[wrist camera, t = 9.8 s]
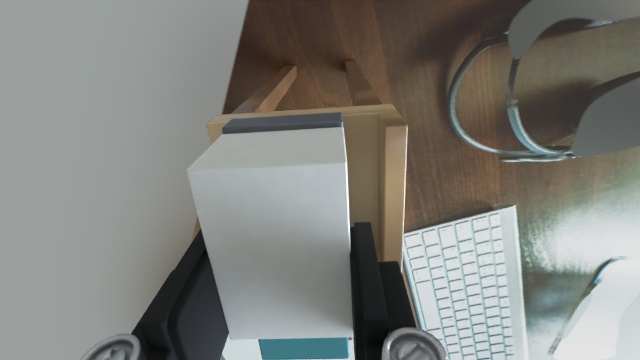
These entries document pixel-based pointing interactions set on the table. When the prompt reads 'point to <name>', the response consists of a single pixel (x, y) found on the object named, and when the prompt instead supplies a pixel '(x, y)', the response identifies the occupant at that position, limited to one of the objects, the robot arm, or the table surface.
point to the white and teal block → (280, 232)
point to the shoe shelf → (364, 168)
